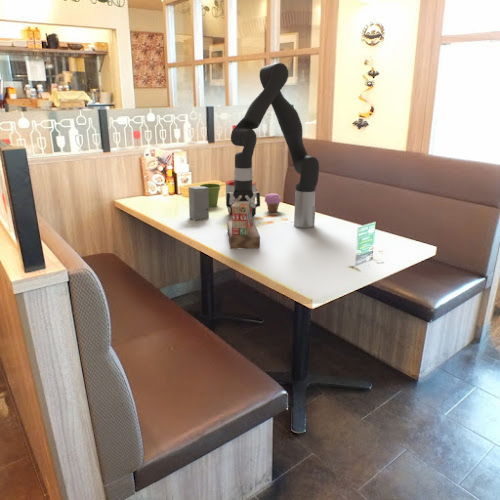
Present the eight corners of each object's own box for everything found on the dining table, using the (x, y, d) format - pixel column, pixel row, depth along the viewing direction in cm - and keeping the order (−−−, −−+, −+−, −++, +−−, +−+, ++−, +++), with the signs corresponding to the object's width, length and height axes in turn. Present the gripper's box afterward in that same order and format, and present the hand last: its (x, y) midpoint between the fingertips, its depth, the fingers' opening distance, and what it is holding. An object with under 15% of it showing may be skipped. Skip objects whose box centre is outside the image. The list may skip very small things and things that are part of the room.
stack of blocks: (239, 221, 203) (240, 194, 199) (253, 221, 202) (254, 194, 198) (231, 234, 183) (231, 205, 179) (246, 235, 182) (247, 206, 178)
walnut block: (253, 231, 205) (253, 220, 204) (259, 248, 183) (259, 236, 181) (227, 231, 204) (227, 220, 203) (230, 248, 182) (230, 237, 180)
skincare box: (194, 220, 221) (194, 189, 215) (188, 217, 226) (187, 186, 221) (210, 218, 225) (209, 187, 220) (203, 215, 231) (202, 185, 225)
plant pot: (197, 204, 254) (196, 184, 250) (216, 202, 259) (216, 182, 255) (204, 208, 244) (203, 188, 240) (224, 206, 249) (224, 186, 245)
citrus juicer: (264, 215, 232) (265, 177, 225) (236, 220, 222) (236, 180, 216) (246, 209, 244) (247, 172, 237) (219, 213, 234) (219, 175, 228)
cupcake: (280, 213, 236) (281, 195, 233) (264, 213, 236) (264, 194, 233) (280, 209, 245) (280, 191, 241) (264, 209, 245) (264, 191, 241)
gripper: (259, 176, 189) (258, 213, 194) (225, 176, 188) (225, 214, 193) (261, 179, 182) (260, 218, 187) (226, 180, 181) (226, 218, 186)
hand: (243, 216), depth 190 cm, fingers open, 8 cm apart
